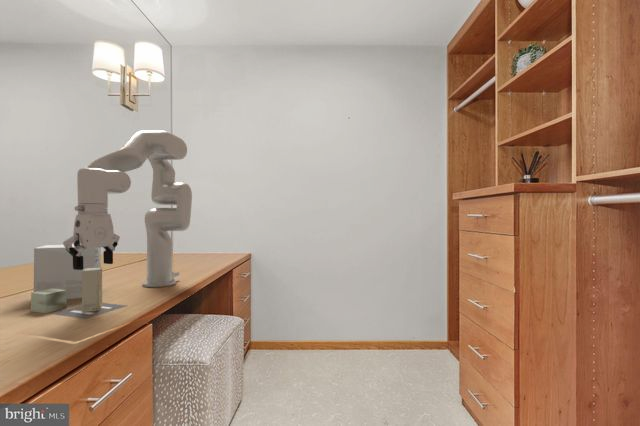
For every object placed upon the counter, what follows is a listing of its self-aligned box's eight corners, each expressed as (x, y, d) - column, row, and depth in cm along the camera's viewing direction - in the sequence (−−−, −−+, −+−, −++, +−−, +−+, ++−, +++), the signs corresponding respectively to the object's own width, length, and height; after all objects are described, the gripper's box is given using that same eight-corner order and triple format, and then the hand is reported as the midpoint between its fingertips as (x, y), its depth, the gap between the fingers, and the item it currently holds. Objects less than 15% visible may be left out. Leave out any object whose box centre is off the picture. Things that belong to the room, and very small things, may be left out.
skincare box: (98, 311, 101) (99, 270, 101) (80, 313, 99) (81, 270, 99) (102, 306, 107) (102, 266, 107) (85, 307, 105) (85, 267, 105)
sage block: (52, 307, 106) (52, 288, 106) (66, 309, 105) (66, 290, 105) (30, 313, 101) (31, 292, 101) (45, 315, 99) (45, 294, 99)
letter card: (96, 303, 111) (96, 302, 111) (128, 307, 107) (128, 305, 107) (51, 315, 98) (51, 313, 98) (85, 320, 94) (85, 318, 94)
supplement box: (101, 290, 130) (102, 243, 130) (95, 298, 118) (95, 246, 118) (44, 294, 123) (45, 244, 123) (32, 303, 111) (32, 247, 111)
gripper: (73, 210, 94) (75, 273, 94) (127, 209, 110) (127, 262, 111) (54, 210, 96) (55, 271, 96) (109, 209, 112) (109, 261, 113)
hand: (94, 266), depth 104 cm, fingers open, 9 cm apart
